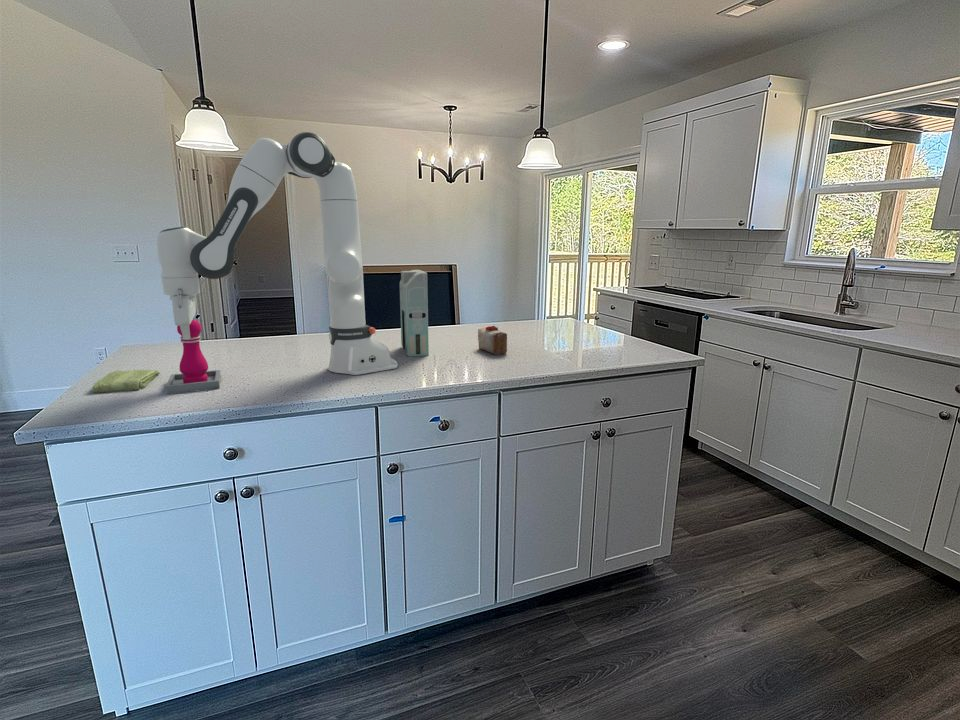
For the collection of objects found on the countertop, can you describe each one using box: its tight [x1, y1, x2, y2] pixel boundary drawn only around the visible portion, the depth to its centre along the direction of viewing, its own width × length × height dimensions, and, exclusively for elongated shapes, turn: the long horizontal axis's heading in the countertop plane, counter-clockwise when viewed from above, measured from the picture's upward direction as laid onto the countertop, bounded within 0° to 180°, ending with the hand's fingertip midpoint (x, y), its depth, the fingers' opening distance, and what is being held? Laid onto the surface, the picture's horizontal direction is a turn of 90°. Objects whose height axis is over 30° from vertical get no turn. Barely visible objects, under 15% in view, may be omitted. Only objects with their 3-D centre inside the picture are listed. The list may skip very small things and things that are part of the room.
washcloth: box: [91, 368, 161, 394], centre depth 145 cm, size 13×18×3 cm
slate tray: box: [165, 369, 222, 395], centre depth 144 cm, size 13×13×2 cm
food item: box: [477, 325, 508, 356], centre depth 188 cm, size 14×8×10 cm, turn 28°
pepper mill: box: [176, 319, 209, 384], centre depth 142 cm, size 7×7×20 cm
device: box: [399, 269, 430, 357], centre depth 184 cm, size 16×8×30 cm, turn 17°
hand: (188, 336), depth 141 cm, fingers open, 8 cm apart
